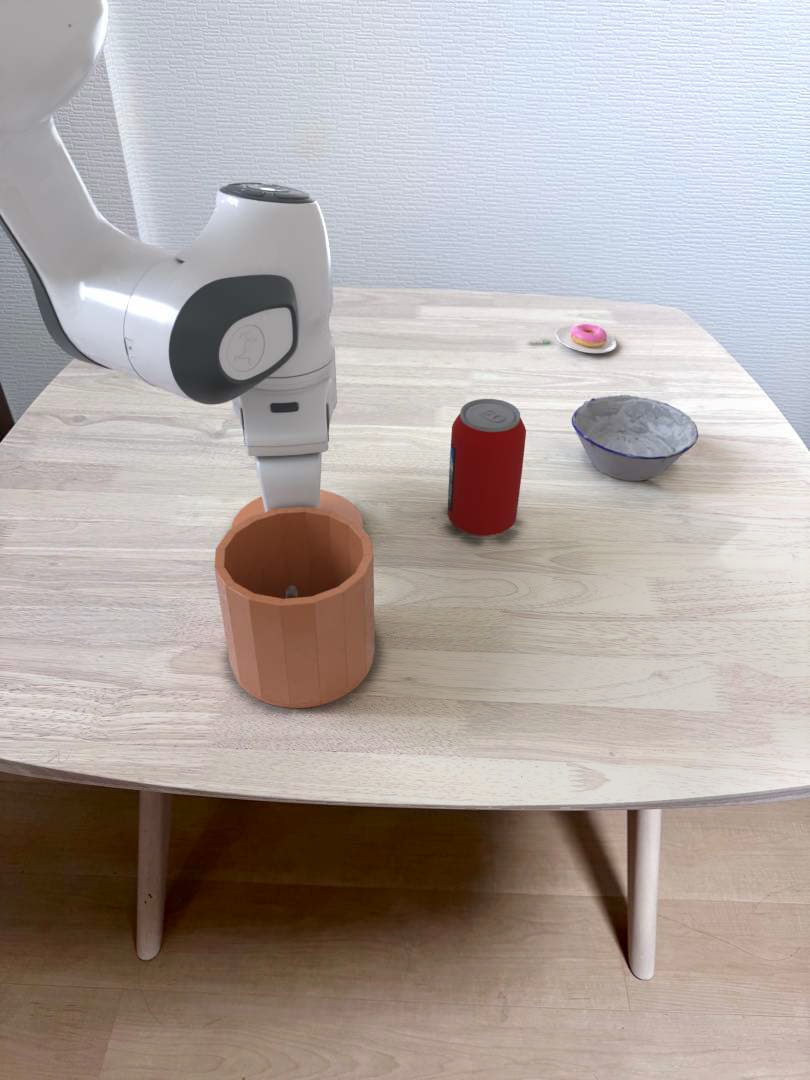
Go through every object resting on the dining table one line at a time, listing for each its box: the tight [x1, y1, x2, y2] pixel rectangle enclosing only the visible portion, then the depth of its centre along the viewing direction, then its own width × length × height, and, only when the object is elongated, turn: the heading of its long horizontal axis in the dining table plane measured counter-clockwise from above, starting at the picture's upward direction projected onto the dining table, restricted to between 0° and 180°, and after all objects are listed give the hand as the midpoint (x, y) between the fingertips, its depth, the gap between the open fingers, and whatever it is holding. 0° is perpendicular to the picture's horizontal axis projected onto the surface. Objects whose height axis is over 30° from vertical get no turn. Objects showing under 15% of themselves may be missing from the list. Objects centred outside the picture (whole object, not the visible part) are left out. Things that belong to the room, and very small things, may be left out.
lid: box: [230, 489, 364, 530], centre depth 79 cm, size 12×12×5 cm
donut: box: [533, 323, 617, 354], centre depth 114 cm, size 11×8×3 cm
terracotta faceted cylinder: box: [214, 507, 376, 709], centre depth 65 cm, size 11×11×10 cm
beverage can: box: [447, 398, 527, 537], centre depth 79 cm, size 7×7×12 cm
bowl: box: [571, 394, 699, 482], centre depth 90 cm, size 13×13×5 cm
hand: (294, 518), depth 80 cm, fingers open, 3 cm apart
